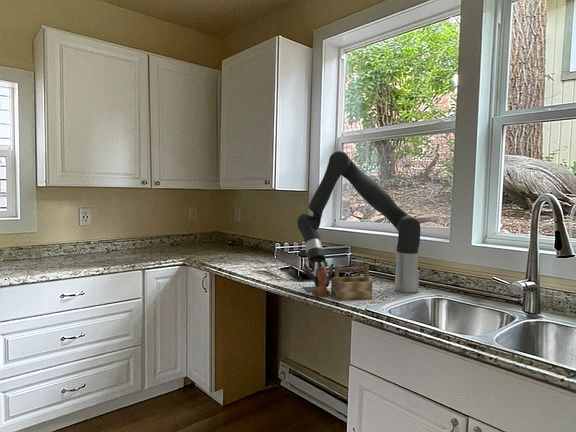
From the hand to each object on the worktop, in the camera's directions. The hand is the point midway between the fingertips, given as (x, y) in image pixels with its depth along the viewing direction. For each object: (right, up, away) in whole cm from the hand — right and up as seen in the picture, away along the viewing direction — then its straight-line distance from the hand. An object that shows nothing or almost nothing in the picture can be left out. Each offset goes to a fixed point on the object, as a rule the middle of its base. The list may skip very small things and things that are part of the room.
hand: (322, 285), depth 163 cm
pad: (-3, -4, +12) cm, 13 cm away
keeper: (-1, -4, +2) cm, 5 cm away
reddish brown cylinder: (-1, -4, +2) cm, 5 cm away
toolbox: (+12, -5, +2) cm, 13 cm away
